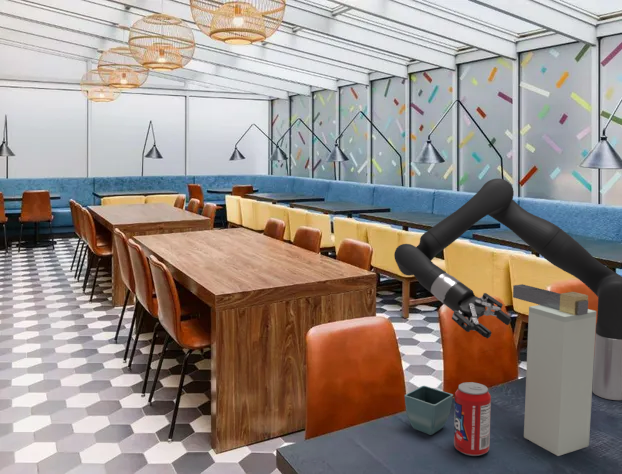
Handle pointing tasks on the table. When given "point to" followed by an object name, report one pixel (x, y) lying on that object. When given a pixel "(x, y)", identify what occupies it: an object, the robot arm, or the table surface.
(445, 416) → the flower pot
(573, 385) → the sage pedestal
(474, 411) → the soda can
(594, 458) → the table surface
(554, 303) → the steel handle bar
